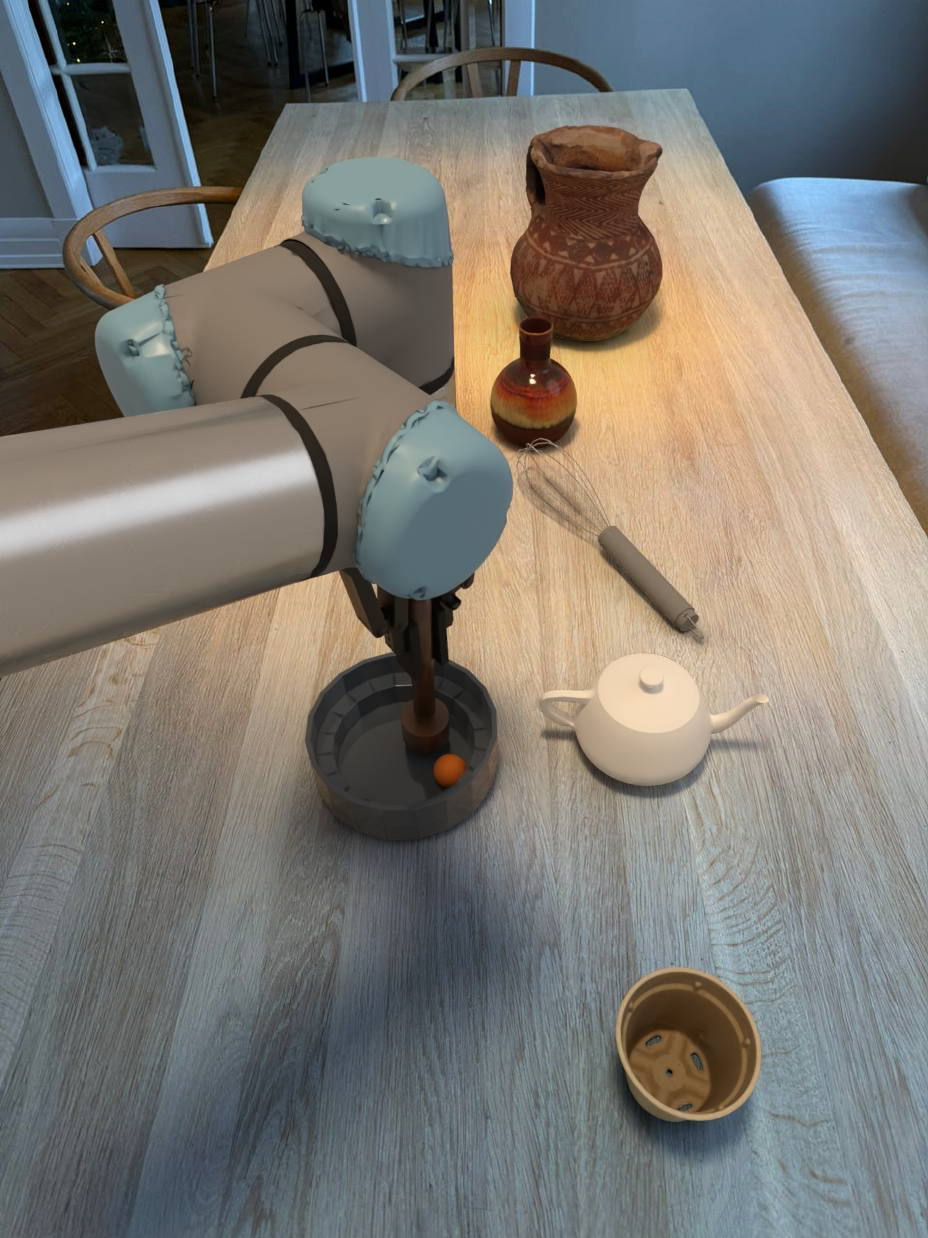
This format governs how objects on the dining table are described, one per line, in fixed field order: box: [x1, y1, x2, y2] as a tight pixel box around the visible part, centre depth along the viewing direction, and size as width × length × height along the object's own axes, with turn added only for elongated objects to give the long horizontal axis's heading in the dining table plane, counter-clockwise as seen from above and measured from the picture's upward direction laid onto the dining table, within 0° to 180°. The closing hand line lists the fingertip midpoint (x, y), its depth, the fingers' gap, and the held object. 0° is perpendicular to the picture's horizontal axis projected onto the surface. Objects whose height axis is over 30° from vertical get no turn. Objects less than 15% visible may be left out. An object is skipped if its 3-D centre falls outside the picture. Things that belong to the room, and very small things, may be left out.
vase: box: [489, 316, 578, 450], centre depth 111 cm, size 11×11×15 cm
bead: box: [434, 754, 467, 787], centre depth 79 cm, size 3×3×3 cm
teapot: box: [539, 652, 770, 787], centre depth 80 cm, size 20×12×10 cm, turn 85°
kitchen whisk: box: [516, 438, 705, 640], centre depth 99 cm, size 6×34×6 cm, turn 30°
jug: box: [509, 124, 664, 342], centre depth 125 cm, size 22×21×25 cm
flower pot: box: [615, 966, 763, 1123], centre depth 61 cm, size 9×9×9 cm
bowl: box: [304, 651, 499, 841], centre depth 81 cm, size 17×17×6 cm
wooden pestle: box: [401, 598, 449, 754], centre depth 74 cm, size 4×4×21 cm
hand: (422, 661), depth 73 cm, fingers closed on wooden pestle, 2 cm apart
